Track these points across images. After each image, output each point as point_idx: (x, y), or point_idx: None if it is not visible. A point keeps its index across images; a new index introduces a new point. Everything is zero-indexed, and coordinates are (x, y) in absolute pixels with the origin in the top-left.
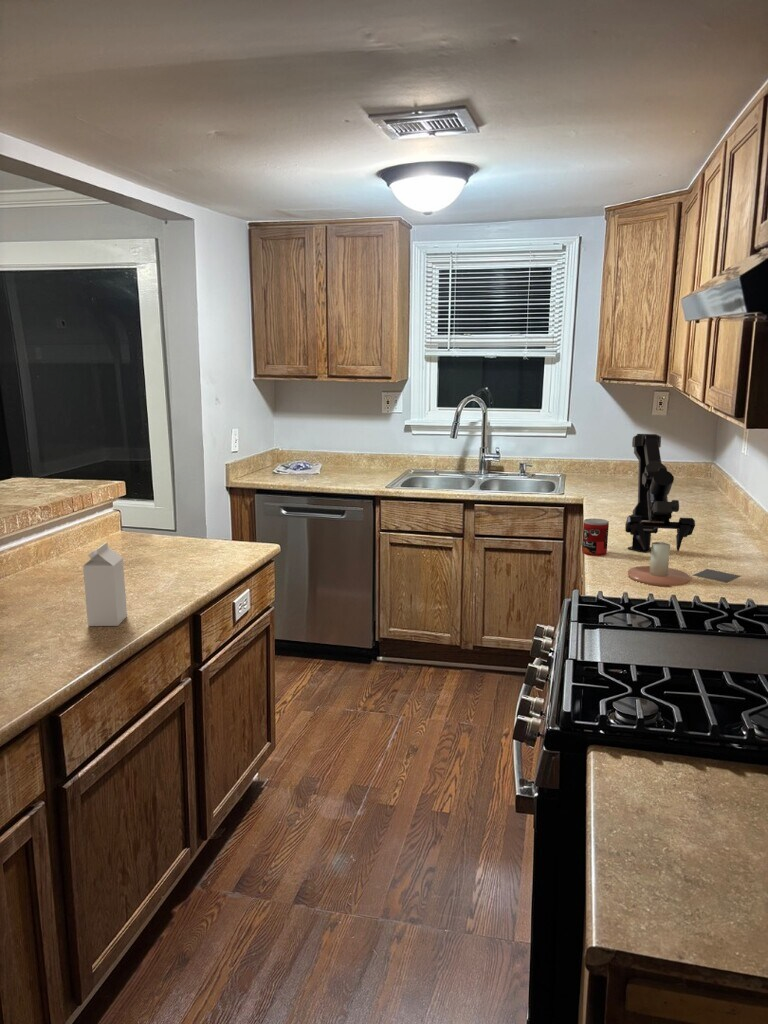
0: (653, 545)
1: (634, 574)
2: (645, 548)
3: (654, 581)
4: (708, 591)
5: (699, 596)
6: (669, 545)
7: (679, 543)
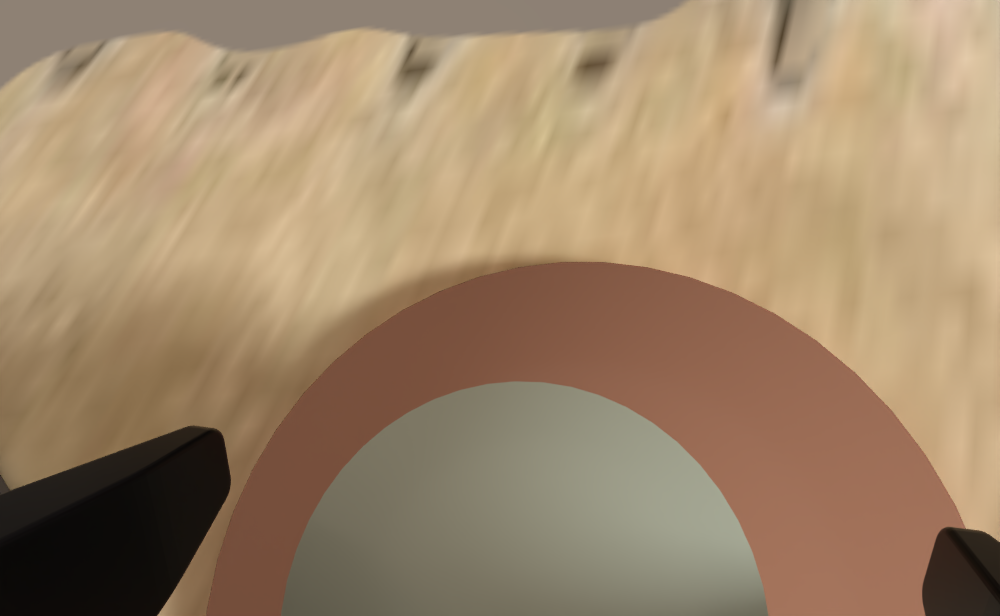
0: (744, 539)
1: (918, 573)
2: (942, 529)
3: (703, 288)
4: (254, 198)
5: (390, 72)
6: (341, 484)
7: (78, 482)
